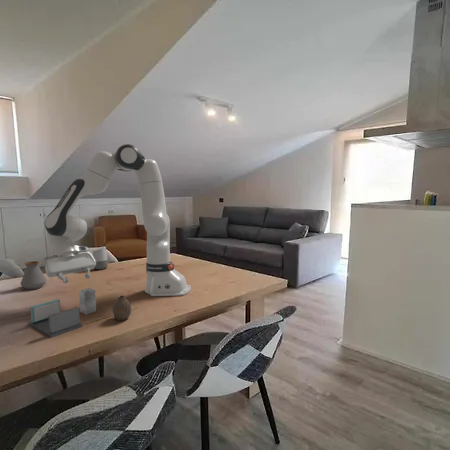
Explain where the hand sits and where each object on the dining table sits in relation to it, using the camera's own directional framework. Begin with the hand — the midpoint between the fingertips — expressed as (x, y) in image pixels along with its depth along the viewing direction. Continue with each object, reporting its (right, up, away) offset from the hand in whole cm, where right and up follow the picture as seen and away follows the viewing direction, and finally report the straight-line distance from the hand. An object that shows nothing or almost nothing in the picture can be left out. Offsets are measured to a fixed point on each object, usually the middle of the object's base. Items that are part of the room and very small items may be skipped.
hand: (77, 279), depth 136 cm
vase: (+23, -13, -11) cm, 28 cm away
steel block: (+6, -12, -4) cm, 14 cm away
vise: (0, -14, -17) cm, 22 cm away
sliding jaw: (-6, -12, -13) cm, 19 cm away
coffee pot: (-33, -8, +33) cm, 48 cm away
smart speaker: (-16, -4, +66) cm, 68 cm away
